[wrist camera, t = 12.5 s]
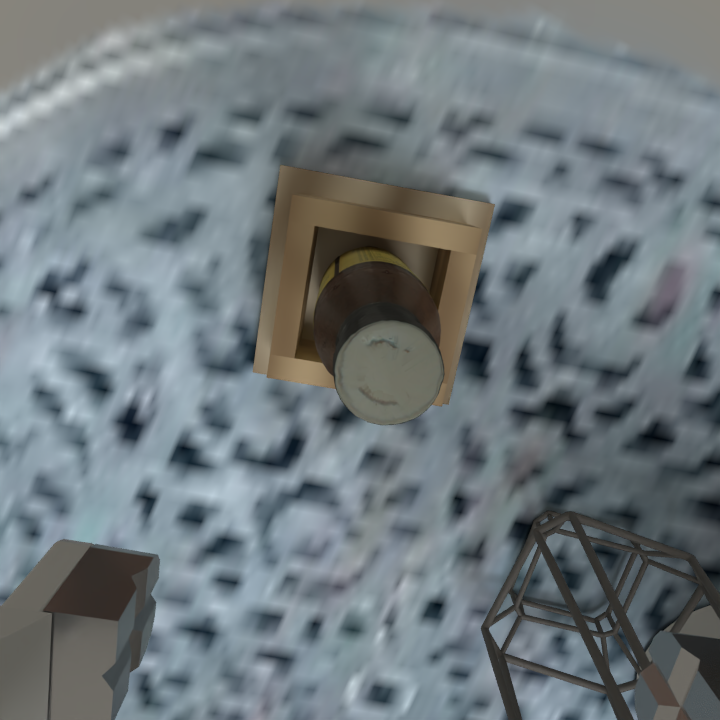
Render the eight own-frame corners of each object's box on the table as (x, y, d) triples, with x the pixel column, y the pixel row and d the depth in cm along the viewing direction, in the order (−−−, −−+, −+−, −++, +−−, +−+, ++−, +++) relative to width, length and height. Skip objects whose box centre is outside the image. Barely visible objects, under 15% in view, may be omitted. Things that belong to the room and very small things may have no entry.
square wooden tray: (490, 203, 40) (514, 207, 34) (446, 399, 44) (460, 432, 38) (282, 165, 39) (269, 161, 34) (255, 367, 43) (239, 396, 37)
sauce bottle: (357, 352, 42) (357, 493, 23) (302, 279, 40) (253, 363, 21) (434, 299, 41) (502, 399, 22) (381, 222, 39) (404, 256, 20)
